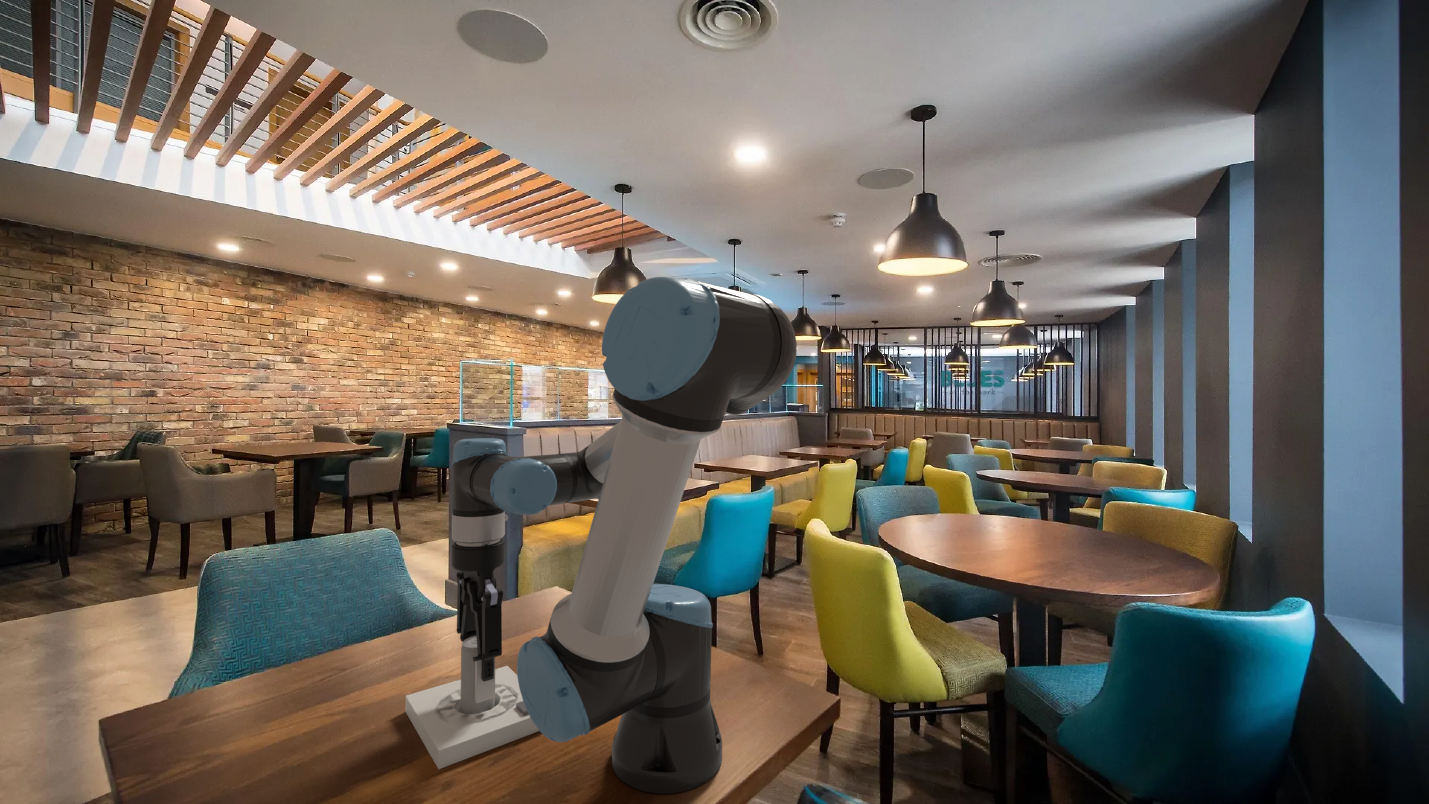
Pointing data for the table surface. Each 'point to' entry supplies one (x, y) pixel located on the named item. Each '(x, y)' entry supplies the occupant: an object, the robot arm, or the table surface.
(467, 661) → the beverage can
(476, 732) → the socket plate
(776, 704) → the table surface
